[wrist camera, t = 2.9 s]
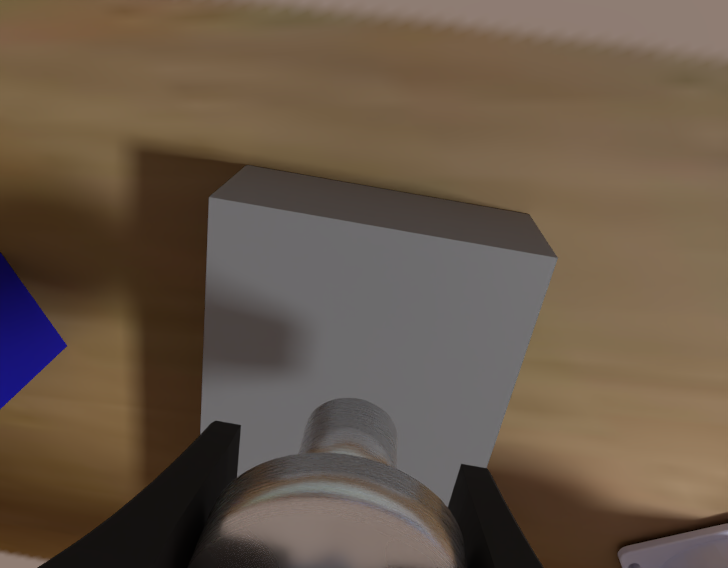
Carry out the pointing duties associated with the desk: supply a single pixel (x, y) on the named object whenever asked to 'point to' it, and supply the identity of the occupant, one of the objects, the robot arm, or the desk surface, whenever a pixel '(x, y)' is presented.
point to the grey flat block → (366, 315)
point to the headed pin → (332, 504)
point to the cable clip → (22, 335)
